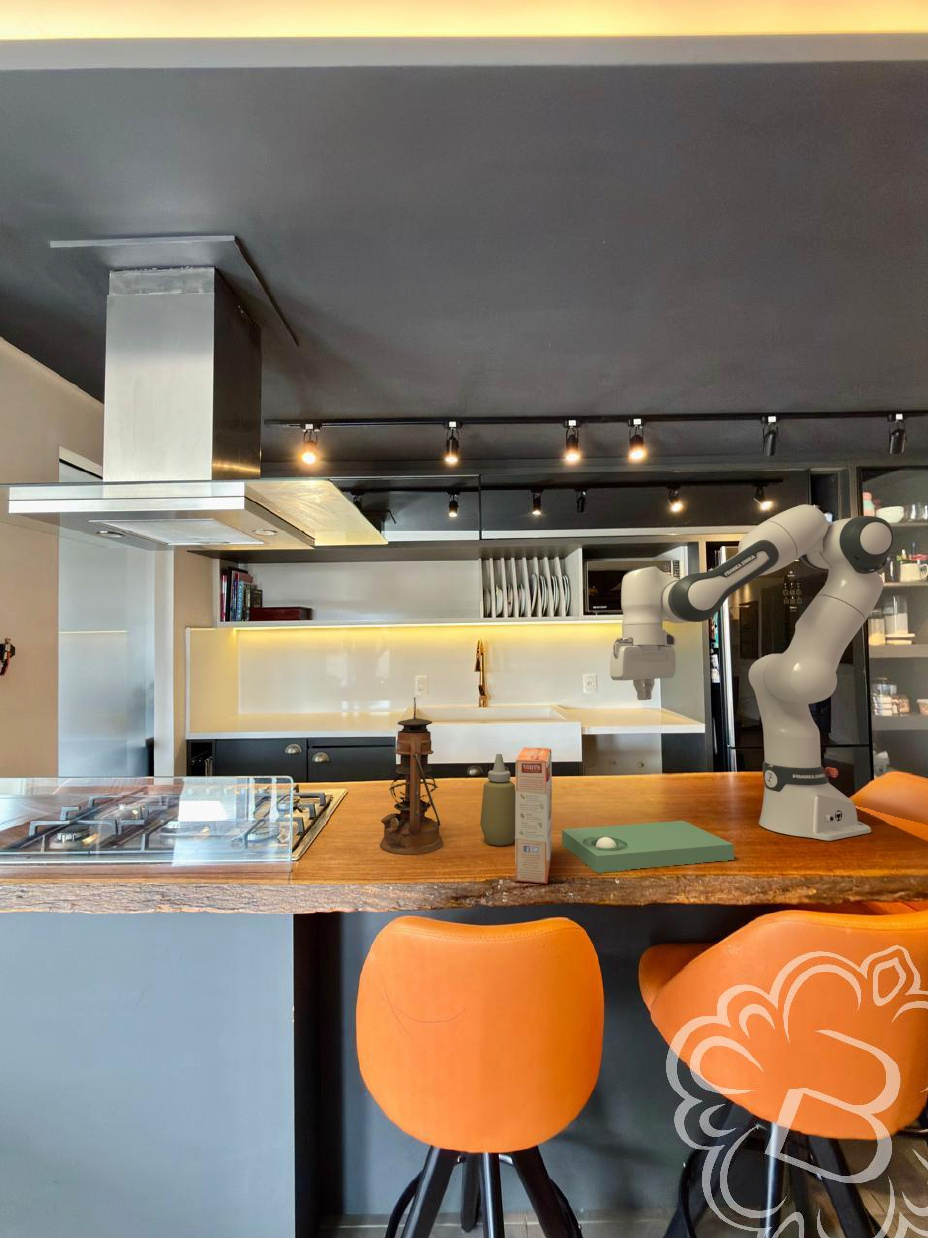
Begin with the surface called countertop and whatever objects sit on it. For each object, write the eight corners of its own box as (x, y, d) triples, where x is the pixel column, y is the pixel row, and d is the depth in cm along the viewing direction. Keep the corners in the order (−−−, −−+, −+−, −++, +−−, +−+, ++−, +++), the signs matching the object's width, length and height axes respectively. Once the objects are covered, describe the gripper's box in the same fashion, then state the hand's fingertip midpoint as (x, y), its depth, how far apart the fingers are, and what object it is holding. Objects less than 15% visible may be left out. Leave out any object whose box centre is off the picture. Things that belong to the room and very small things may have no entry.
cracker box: (549, 885, 96) (548, 759, 98) (514, 882, 97) (513, 758, 99) (553, 856, 110) (552, 746, 111) (522, 854, 111) (521, 745, 112)
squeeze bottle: (526, 841, 119) (526, 754, 120) (502, 851, 113) (501, 759, 114) (497, 833, 124) (496, 749, 126) (472, 842, 119) (471, 754, 120)
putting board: (683, 834, 123) (683, 820, 123) (734, 860, 108) (733, 844, 108) (562, 844, 117) (561, 829, 117) (597, 873, 101) (596, 855, 102)
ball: (610, 832, 111) (599, 832, 109) (624, 847, 108) (614, 847, 106) (599, 848, 112) (587, 848, 109) (613, 864, 109) (602, 864, 106)
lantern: (379, 832, 125) (380, 695, 127) (438, 829, 127) (438, 694, 129) (380, 860, 108) (381, 700, 110) (448, 856, 110) (448, 699, 112)
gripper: (626, 637, 120) (627, 703, 119) (680, 638, 133) (682, 698, 132) (601, 638, 125) (603, 701, 124) (656, 639, 138) (658, 696, 137)
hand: (644, 699), depth 128 cm, fingers closed
